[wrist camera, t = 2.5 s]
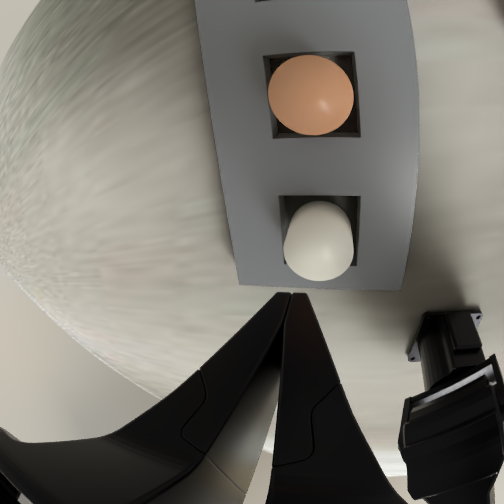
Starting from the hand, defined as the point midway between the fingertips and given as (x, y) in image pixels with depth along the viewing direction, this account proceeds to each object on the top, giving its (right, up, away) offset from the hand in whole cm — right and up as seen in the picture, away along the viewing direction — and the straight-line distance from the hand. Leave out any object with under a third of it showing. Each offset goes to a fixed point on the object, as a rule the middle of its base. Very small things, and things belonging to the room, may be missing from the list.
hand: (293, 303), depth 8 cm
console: (+3, +11, +7) cm, 13 cm away
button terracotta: (+2, +10, +6) cm, 12 cm away
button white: (+3, +3, +10) cm, 11 cm away
